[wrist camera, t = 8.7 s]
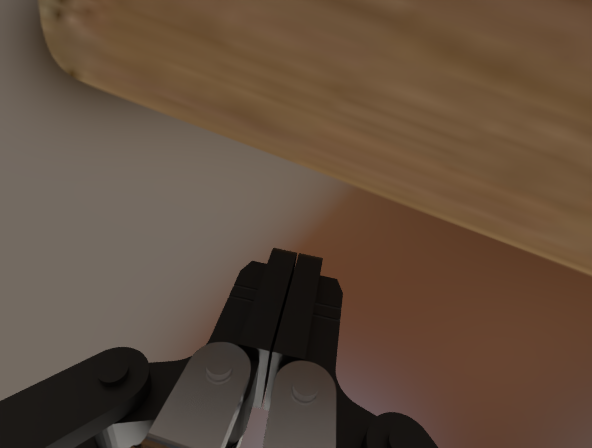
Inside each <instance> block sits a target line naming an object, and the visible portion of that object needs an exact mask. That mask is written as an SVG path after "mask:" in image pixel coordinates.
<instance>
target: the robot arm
mask: <svg viewBox="0 0 592 448" xmlns="http://www.w3.org/2000/svg"><path fill="white" fill-rule="evenodd" d="M296 258H297V253H296V252H291V251H286V250H282V249H277V248H273V250H272V252H271V255H270V258H269V260H268V263H267V264H264V263H260V262H255V261H251V262H250V263H249V264H248V265H247V266H246V267H244V268H243V269H242V270H241V271H240V273H239V275H238V277H237V280H236V282H235V284H234V287H233V288H232V290H231V293H230V295H229V298H228V300H227V302H226V304H225V306H224V308H223V311H222V313H221V315H220V317H219V319H218V322H217V324H216V326H215V329H214V331H213V333H212V335H211V337H210V339H209V341H208V343H207V344H206V345H205V346H203V347H201V348H200V349H199V350H197V351H196V352H195V353H194V354H193V356H191V357H188V358H186V359H182V360H178V361H168V362H154V363H148V360H147V358H146V357H145V356H144V354H142V353H141V352H140V351H138V350H135V349H133V348H129V347H117V348H112V349H108V350H105V351H103V352H101V353H99V354H97V355H95V356H92V357H91V358H88V359H86V360H84V361H82V362H80V363H78V364H76V365H74V366H72V367H70V368H68V369H66V370H64V371H61V372H59V373H57V374H55V375H53V376H51V377H49V378H47V379H45V380H43V381H41V382H39V383H37V384H35V385H33V386H30V387H29V388H26V389H24V390H22V391H20V392H18V393H16V394H14V395H12V396H10V397H8V398H6V399H4V400H2V401H0V448H239V447H240V444H241V441H242V438H243V434H244V432H245V430H246V427H247V423H248V420H249V417H250V413H251V409H252V407H256V408H260V409H261V407H262V403H263V399H264V395H265V391H266V397H265V403H264V409H265V410H269V414H268V420H267V425H266V432H265V437H264V443H263V448H438V447H437V445H436V444H435V443H434V441H433V440H432V439H431V437H430V436H429V435H428V433H427V432H426V431H425V430H424V428H423V427H422V426H421V425H420V424H418V423H417V422H416V421H415V420H413V419H412V418H410V417H408V416H406V415H403V414H400V413H395V412H388V413H383V414H381V415H379V416H376V415H374V414H372V413H370V412H369V411H367V410H365V409H364V408H362V407H360V406H359V405H357V404H356V403H354V402H352V400H350V399H349V398H348V397H347V396H346V394H345V393H344V392H343V391H342V389H341V388H340V386H339V384H338V381H337V378H336V372H335V371H336V370H335V369H336V357H337V347H338V336H339V326H340V317H341V307H342V297H343V292H342V290H341V288H340V285H339V283H338V281H337V279H334V278H330V277H325V276H320V272H321V266H322V260H323V258H320V257H315V256H310V255H306V254H301V253H299V255H298V259H297V263H296ZM295 264H296V266H295ZM267 383H268V384H267ZM266 387H267V390H266Z"/></svg>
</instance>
